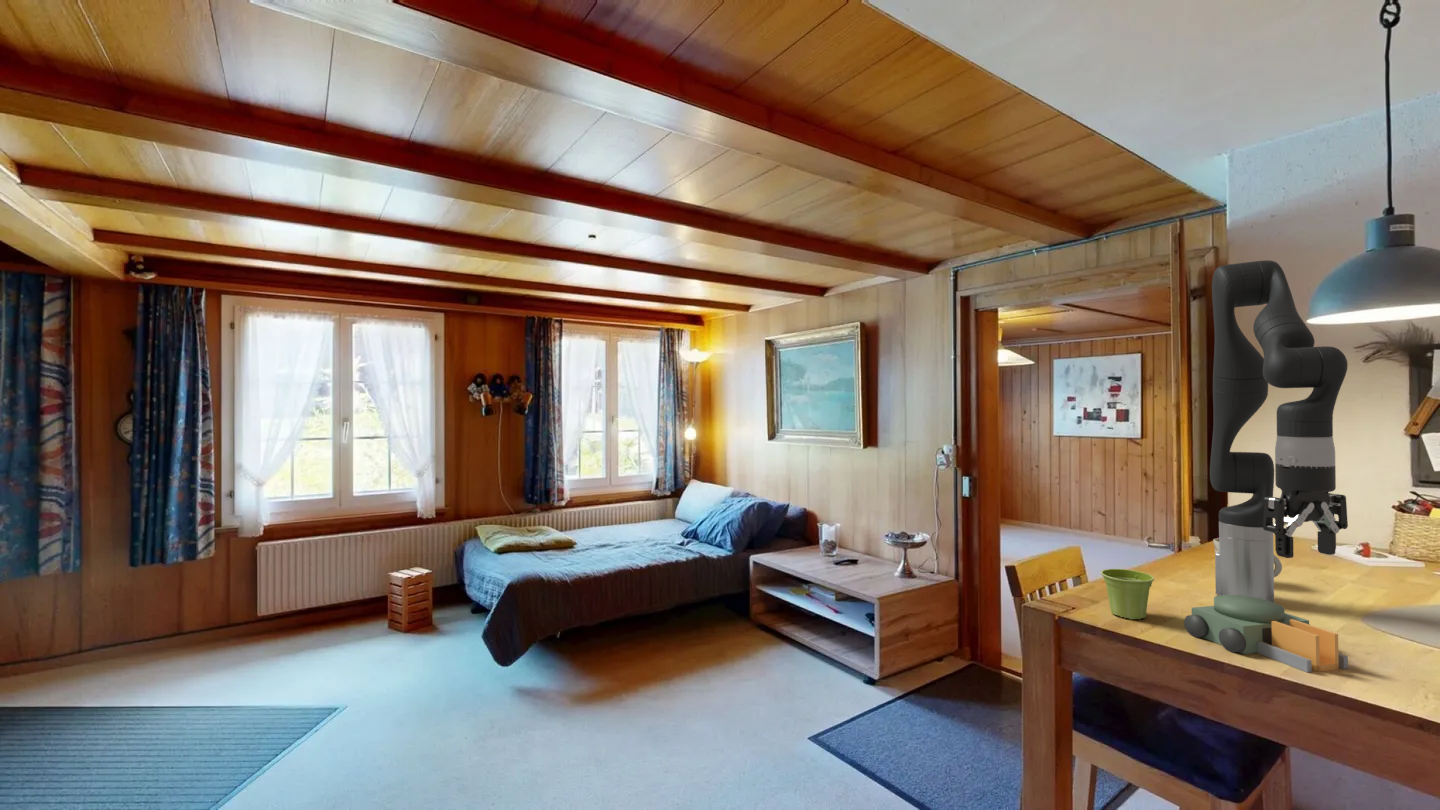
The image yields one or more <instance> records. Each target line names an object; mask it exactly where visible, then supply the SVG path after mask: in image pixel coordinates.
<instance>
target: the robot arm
mask: <svg viewBox="0 0 1440 810" xmlns="http://www.w3.org/2000/svg"><path fill="white" fill-rule="evenodd" d="M1291 291H1292V290H1291V288H1290V285H1289V282H1288V280H1287V277H1286V274H1285V272H1284V270H1283V268H1282V266H1280V264H1279V263H1278V262H1276V261H1274V260H1256V261H1247V262H1238V263H1232V264H1231V263H1230V264H1224V265H1223V264H1222V265H1220V266H1217V268H1215V270H1214V273H1213V275H1212V282H1211V296H1212V312H1213V326H1214V327H1213V328H1214V329H1213V330H1214V348H1213V350H1214V351H1213V353H1214V354H1213V371H1212V402H1213V404H1212V405H1213V406H1212V407H1213V412H1212V413H1213V415H1212V416H1213V422H1212V423H1213V426H1212V429H1213V430H1212V441H1211V449H1210V450H1211V451H1210V461H1209V462H1210V463H1209V479H1210V480H1209V481H1210V484H1211V486H1212V488H1213V489H1214V490H1215V491H1217V492H1220V493H1221V492H1223V493H1230V494H1231V493H1232V494H1233V493H1237V494H1252V496H1251V498H1249V499H1247V500H1245V501H1244V502H1242V503H1238V504H1234V505H1229V506H1224V507H1221V509H1220V510H1219V511H1218V536H1219V537H1218V538H1219V553H1216V554H1215V553H1214V557H1215V558H1214V559H1215V560H1214V565H1215V567H1214V568H1215V569H1214V570H1215V572H1214V573H1215V576H1214V577H1215V594H1216V595H1217V596H1218V595H1241V596H1248V597H1254V598H1259V599H1264V600H1268V601H1271V602H1274V603H1275V577H1274V569H1275V564H1274V555H1275V554H1274V546H1275V553H1276V555H1277V556H1279V557H1282V558H1286V559H1292V558H1294V556H1295V555H1294V536H1293V535H1294V533H1295V531H1296V529H1297V528H1299V527H1302V526H1303V524H1304V523H1308V522H1312V523H1313V524H1314V525H1315V527H1316V528H1317V551H1318V552H1319V553H1320V554H1325V555H1328V556H1332V555H1335V554H1336V549H1337V534H1338V533H1339V532H1340V530H1347V529H1348V527H1349V525H1348V521H1349V520H1348V509H1347V507H1348V505H1347V496H1346V495H1345V494H1339V493H1331V492H1334V491H1335V490H1336V489H1337V487H1336V486H1337V485H1336V481H1337V477H1336V473H1337V472H1336V471H1337V470H1336V447H1335V443H1334V437H1333V436H1334V434H1333V433H1334V432H1333V430H1334V429H1333V427H1334V424H1333V423H1334V421H1333V419H1334V416H1333V415H1334V411H1335V405H1336V403H1337V399H1338V396H1339V393H1340V390H1341V387H1342V385H1343V383H1344V381H1345V377H1346V374H1347V372H1348V367H1349V366H1348V365H1349V364H1348V359H1347V357H1346V355H1345V354H1344V353H1343V351H1341V349H1339V348H1338V347H1334V346H1327V345H1326V346H1315V337H1314V335H1313V333H1312V331H1311V330H1310V329H1309V328H1308V326H1307V324H1306V323H1305V321H1304V320H1303V319H1302V318H1301V316H1300V314H1299V312H1298V310H1297V307H1296V305H1295V301H1294V297H1293V293H1292V292H1291ZM1262 305H1265V306H1264V307H1263V308H1262V309H1261V311H1259V312H1258V314H1257V315H1256V317H1255V319H1254V322H1253V327H1252V328H1253V334H1254V337H1255V338H1256V340H1257V342H1258V344H1259V346H1260V347H1261V349H1262V353H1263V355H1262V354H1261V353H1260V351H1258V349H1257V348H1256V347H1255V346H1254V345H1253V344H1252V343H1251V342H1250V341H1249V339H1248V338H1247V337H1246V336H1245V334H1244V333H1243V332H1242V330H1241V328H1240V327H1239V325H1238V322H1237V319H1236V314H1235V313H1236V312H1235V308H1243V307H1253V306H1262ZM1269 385H1271V386H1272V387H1275V388H1277V389H1278V388H1279V389H1305V388H1306V389H1307V388H1310V389H1311V388H1312V389H1313V390H1312V392H1310V394H1309V395H1308V396H1307V397H1305V398H1304V399H1301V400H1295V401H1289V402H1284V403H1281V404H1279V406H1278V407H1277V408H1276V440H1275V448H1274V449H1275V450H1274V456H1275V457H1274V460H1273V458H1272V457H1271V455H1270V454H1268V453H1266V452H1256V451H1255V452H1251V451H1250V452H1247V451H1231V448H1232V446H1233V443H1234V440H1235V438H1236V437H1237V435H1238V434H1239V432H1240V431H1241V430H1242V429H1243V427H1244V426H1245V425H1246V424H1247V422H1248V421H1249V420H1250V419H1252V417H1253V416H1254V415H1255V414H1256V413H1257V412H1258V410H1259V409H1261V407H1262V406H1263V405H1264V403H1265V402H1266V400H1267V398H1268V396H1269ZM1274 461H1275V463H1274ZM1274 485H1275V487H1277V488H1278V489H1280V490H1281V495H1280V497H1275V496H1274ZM1335 515H1336V516H1337V517H1338V520H1336V517H1335ZM1285 526H1286V527H1285ZM1274 536H1275V537H1274ZM1274 538H1275V540H1274ZM1274 542H1275V545H1274Z"/></svg>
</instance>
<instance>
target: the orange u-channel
mask: <svg viewBox="0 0 1440 810" xmlns="http://www.w3.org/2000/svg"><path fill="white" fill-rule="evenodd" d="M1309 624H1310V623H1309ZM1309 624H1306V623H1303V622H1300V621H1296V620H1293V619H1291V620H1290V626H1289V625H1286V624H1283V623H1280V622H1277V621H1272V646H1275V647H1278V648H1280V649H1283V650H1286V651H1288V652H1291V653H1294V654H1296V655H1299V656H1302V657H1304V658H1307V659H1310V660H1311V671H1313V672H1325V671H1336V670H1337V671H1338V670H1340V667H1339V654H1340V653H1339V634H1338V633H1336V632H1333V631H1330V630H1327V629H1323V628H1321V627H1318V626H1314V625H1312V624H1310V625H1309Z"/></svg>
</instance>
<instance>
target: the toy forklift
mask: <svg viewBox="0 0 1440 810" xmlns="http://www.w3.org/2000/svg"><path fill="white" fill-rule="evenodd" d="M1291 619H1293V620H1296V621H1300V622H1303V623H1306V624H1309V625H1311V624H1310V620H1309V619H1307V618H1303V617H1299V616H1297V615H1293V614H1290V613H1287V612H1285V607H1284V606H1283V605H1281V604H1279V603H1278V602H1277V603H1276V602H1275V601H1274V602H1271V601H1268V600H1264V599H1259V598H1254V597H1248V596H1241V595H1218V594H1217V595H1216V596H1214V598H1213V605H1207V606H1206V605H1205V606H1195V607H1194V606H1193V607H1191V614H1189V615H1187V616H1185V618H1184V620H1183V624H1184V628H1185V630H1186V632H1187V633H1188V634H1189V635H1190V636H1192V637H1194V638H1203V639H1206V640H1207V641H1210V642H1213V643H1215V644H1218V645H1220V646H1222V648H1224V649H1225V650H1227V651H1228V652H1230V653H1240V654H1242V655H1247V654H1248V655H1250V654H1251V655H1252V654H1259V655H1262V656H1265V657H1268V658H1270V659H1273V660H1275V661H1277V662H1280V663H1283V664H1284V665H1287V666H1289V667H1293V668H1296V669H1297V670H1300V671H1302V672H1305V673H1312V670H1311V660H1310V659H1307V658H1304V657H1302V656H1299V655H1296V654H1294V653H1291V652H1288V651H1286V650H1283V649H1280V648H1278V647H1275V646H1272V621H1277V622H1280V623H1283V624H1286V625H1289V626H1290V620H1291ZM1339 668H1341V669H1345V670H1346V669H1349V657H1348V655H1346V654H1342V653H1339Z"/></svg>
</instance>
